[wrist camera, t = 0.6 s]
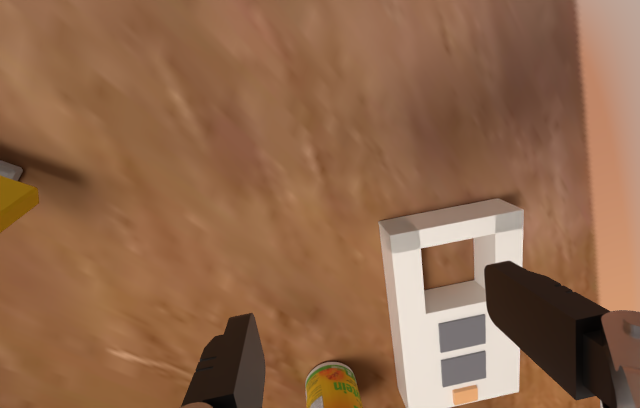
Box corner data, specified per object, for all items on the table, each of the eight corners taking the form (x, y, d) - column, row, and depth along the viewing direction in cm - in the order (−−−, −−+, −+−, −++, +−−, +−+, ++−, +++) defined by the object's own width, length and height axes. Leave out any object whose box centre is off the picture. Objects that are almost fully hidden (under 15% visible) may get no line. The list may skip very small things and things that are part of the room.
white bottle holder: (378, 221, 31) (391, 237, 27) (498, 198, 31) (527, 210, 28) (397, 388, 37) (410, 420, 33) (497, 366, 37) (521, 395, 34)
